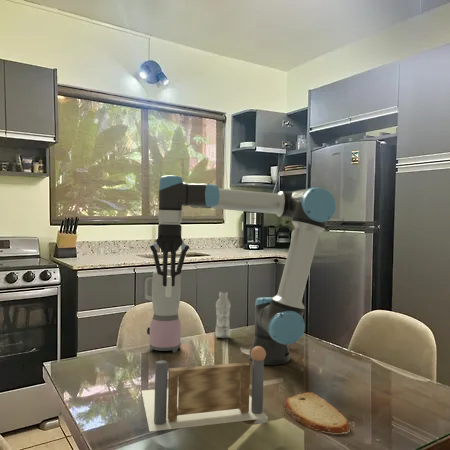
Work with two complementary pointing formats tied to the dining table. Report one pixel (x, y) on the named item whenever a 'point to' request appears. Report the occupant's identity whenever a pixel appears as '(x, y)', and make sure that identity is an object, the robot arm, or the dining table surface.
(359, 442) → the dining table surface
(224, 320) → the plastic bottle
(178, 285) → the blender
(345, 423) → the slice of bread
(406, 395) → the dining table surface
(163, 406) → the gate frame
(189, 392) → the gate
